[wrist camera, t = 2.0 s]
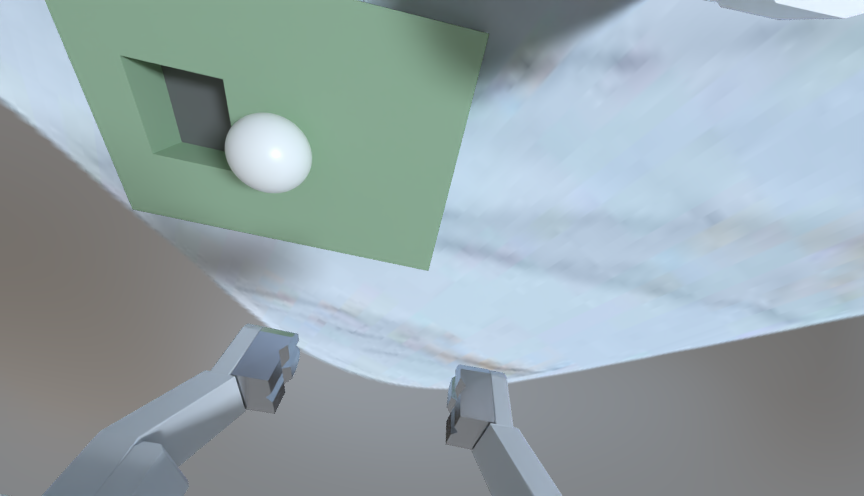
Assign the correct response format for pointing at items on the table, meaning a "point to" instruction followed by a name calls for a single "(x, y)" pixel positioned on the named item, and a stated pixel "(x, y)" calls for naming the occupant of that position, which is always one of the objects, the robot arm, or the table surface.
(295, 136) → the ball
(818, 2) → the foam cup
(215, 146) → the green
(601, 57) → the table surface
